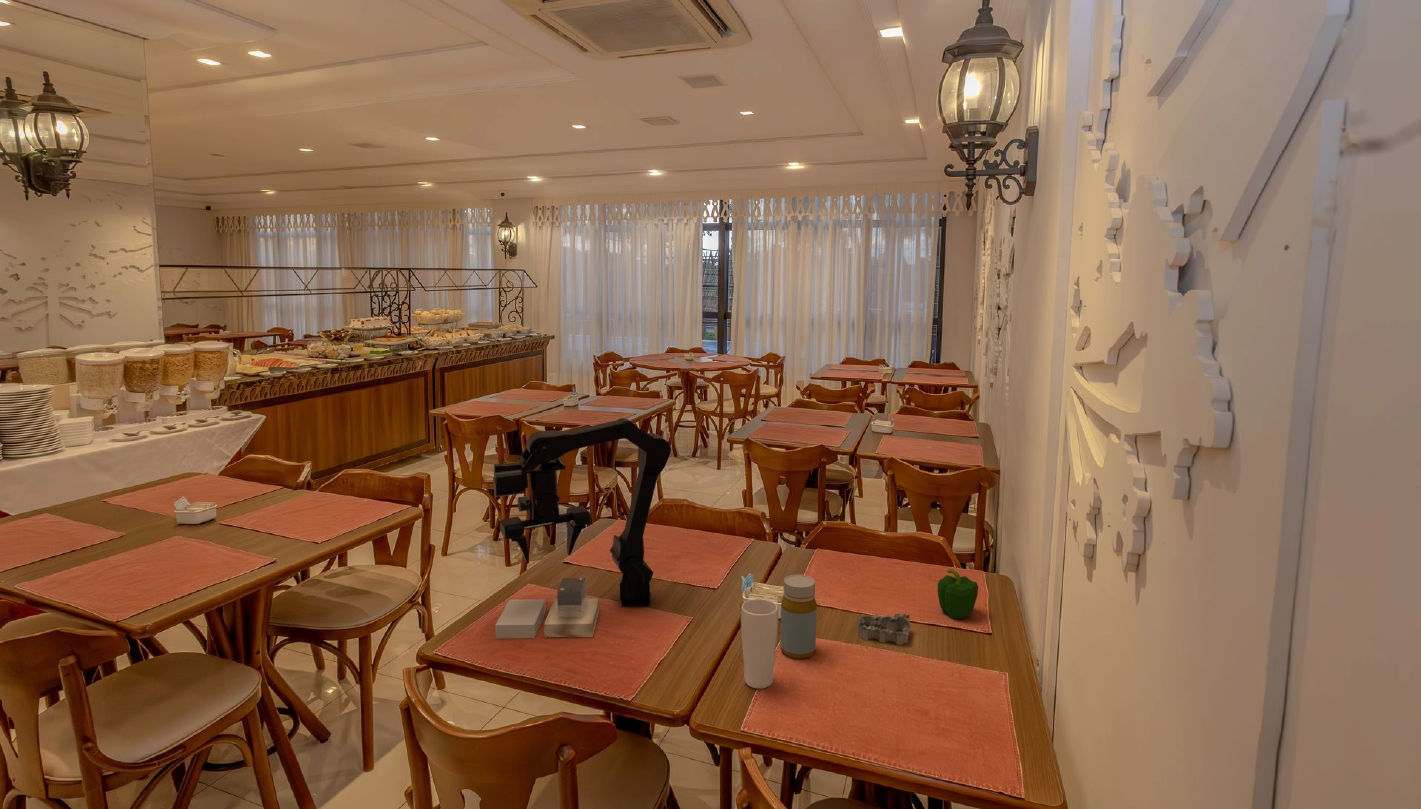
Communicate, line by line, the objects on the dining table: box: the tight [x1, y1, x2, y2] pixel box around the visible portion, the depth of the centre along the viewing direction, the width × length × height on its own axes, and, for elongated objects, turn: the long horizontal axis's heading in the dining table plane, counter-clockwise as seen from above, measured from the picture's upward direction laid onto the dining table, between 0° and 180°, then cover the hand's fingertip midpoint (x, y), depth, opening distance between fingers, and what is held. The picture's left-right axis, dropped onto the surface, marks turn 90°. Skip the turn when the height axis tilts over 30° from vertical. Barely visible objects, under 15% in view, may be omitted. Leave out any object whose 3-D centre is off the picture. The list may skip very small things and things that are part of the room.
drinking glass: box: [740, 598, 779, 689], centre depth 133 cm, size 7×7×15 cm
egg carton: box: [857, 613, 911, 646], centre depth 151 cm, size 11×8×4 cm
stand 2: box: [543, 597, 600, 639], centre depth 156 cm, size 10×12×3 cm
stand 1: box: [495, 598, 547, 640], centre depth 156 cm, size 8×12×3 cm, turn 2°
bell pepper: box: [937, 568, 979, 620], centre depth 160 cm, size 8×8×10 cm
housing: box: [556, 577, 587, 619], centre depth 155 cm, size 5×7×6 cm
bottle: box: [780, 574, 818, 660], centre depth 144 cm, size 7×7×15 cm
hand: (548, 558), depth 158 cm, fingers open, 9 cm apart
